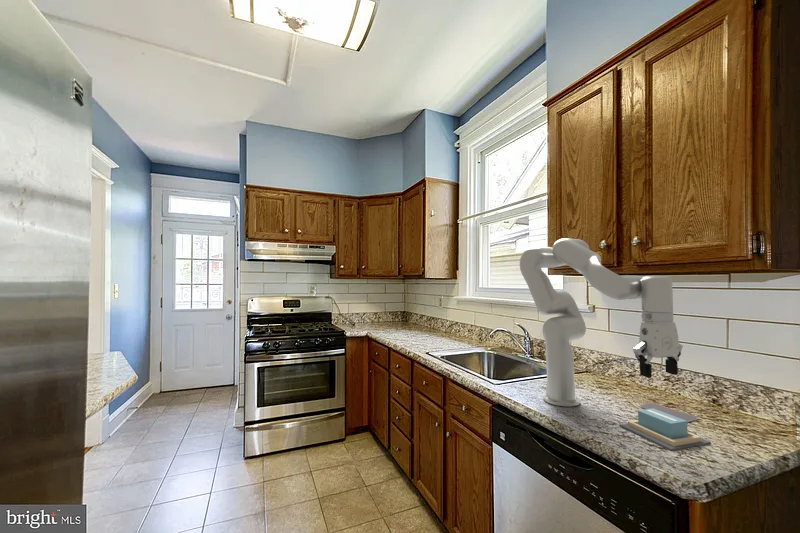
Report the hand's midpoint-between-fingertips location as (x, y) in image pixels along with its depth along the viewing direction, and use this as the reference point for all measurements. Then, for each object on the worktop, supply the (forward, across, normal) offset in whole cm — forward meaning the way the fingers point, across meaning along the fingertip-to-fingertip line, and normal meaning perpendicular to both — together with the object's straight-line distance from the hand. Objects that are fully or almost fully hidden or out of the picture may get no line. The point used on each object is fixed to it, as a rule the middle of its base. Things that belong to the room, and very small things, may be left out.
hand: (658, 375), depth 103 cm
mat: (+17, 0, -1) cm, 17 cm away
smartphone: (+18, +17, +11) cm, 27 cm away
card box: (+17, 0, 0) cm, 17 cm away
